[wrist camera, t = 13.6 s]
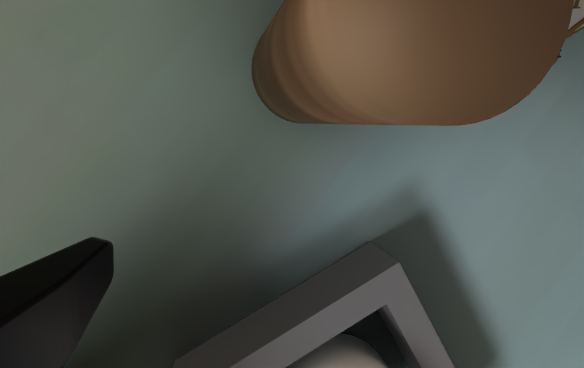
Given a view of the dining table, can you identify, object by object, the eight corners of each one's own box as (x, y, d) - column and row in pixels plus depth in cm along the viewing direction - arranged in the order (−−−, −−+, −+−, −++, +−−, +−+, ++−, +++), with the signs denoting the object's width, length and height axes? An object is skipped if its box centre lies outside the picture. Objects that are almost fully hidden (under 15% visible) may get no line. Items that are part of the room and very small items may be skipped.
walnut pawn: (327, 140, 20) (502, 168, 8) (233, 94, 19) (279, 49, 7) (371, 46, 20) (616, -64, 8) (279, -5, 19) (404, -218, 7)
